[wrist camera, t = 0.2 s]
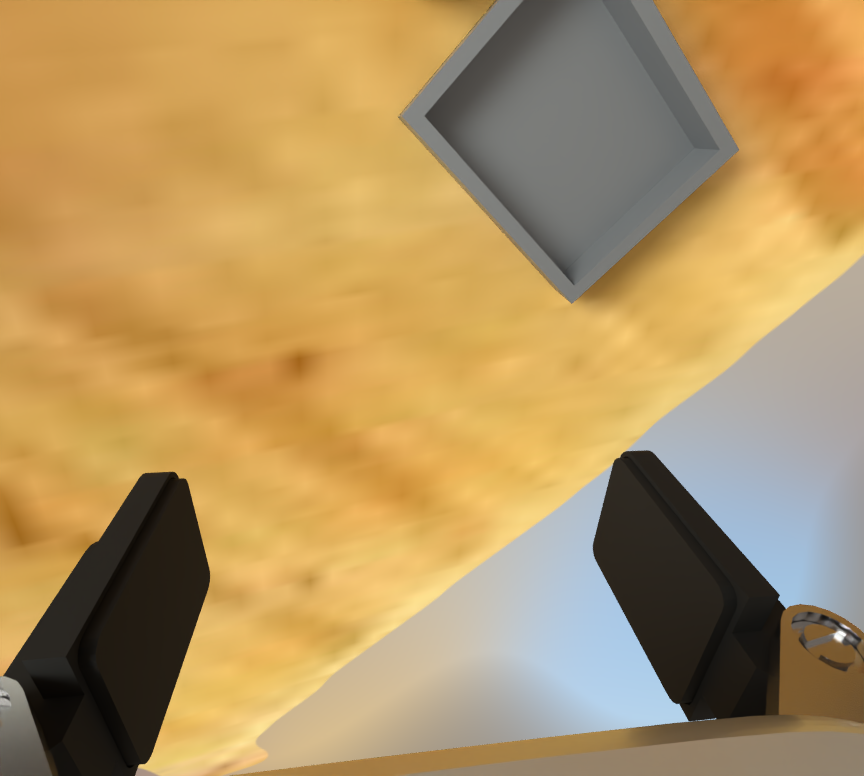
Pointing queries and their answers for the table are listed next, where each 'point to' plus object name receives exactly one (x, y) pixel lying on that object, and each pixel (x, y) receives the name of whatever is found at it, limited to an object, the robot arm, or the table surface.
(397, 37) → the table surface
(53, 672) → the robot arm
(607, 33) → the tray
